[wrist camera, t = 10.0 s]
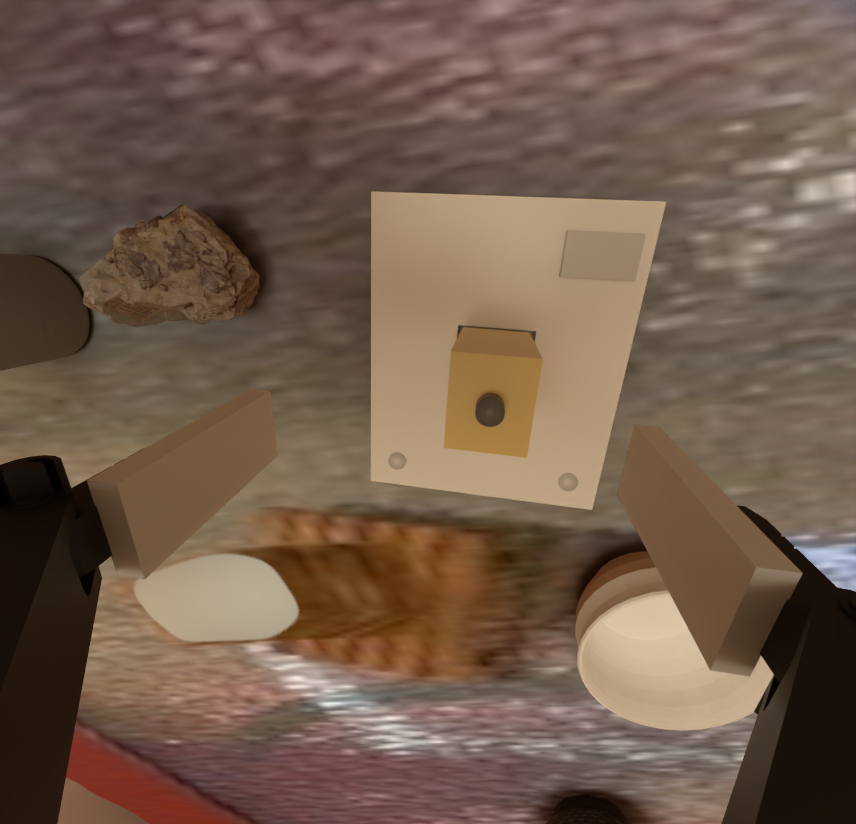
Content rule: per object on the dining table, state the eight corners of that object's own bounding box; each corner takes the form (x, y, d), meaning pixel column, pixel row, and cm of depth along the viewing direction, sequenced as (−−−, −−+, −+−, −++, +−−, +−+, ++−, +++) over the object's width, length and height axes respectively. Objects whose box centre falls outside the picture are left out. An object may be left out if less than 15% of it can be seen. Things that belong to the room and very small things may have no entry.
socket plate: (382, 197, 31) (368, 189, 28) (649, 207, 29) (670, 200, 25) (379, 465, 40) (368, 484, 36) (584, 491, 37) (593, 514, 34)
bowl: (630, 672, 44) (657, 753, 37) (530, 584, 42) (538, 652, 35) (769, 603, 38) (834, 683, 31) (662, 498, 36) (704, 557, 29)
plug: (465, 321, 33) (448, 355, 21) (526, 326, 32) (545, 364, 20) (459, 389, 35) (441, 456, 23) (516, 395, 35) (528, 467, 22)
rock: (289, 299, 38) (259, 221, 29) (204, 391, 35) (137, 337, 25) (214, 250, 39) (160, 159, 29) (123, 336, 35) (28, 263, 26)
